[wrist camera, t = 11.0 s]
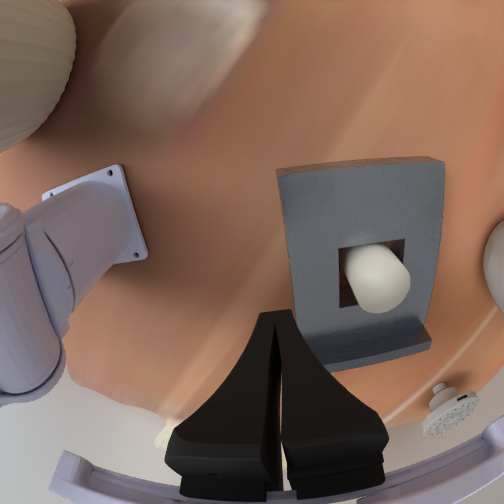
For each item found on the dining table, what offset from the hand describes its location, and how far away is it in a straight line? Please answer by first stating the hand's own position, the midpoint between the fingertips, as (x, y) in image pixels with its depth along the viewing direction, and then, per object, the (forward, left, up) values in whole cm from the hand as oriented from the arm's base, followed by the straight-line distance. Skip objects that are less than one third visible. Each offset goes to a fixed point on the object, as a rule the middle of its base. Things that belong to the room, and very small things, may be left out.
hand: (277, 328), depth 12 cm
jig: (+7, -3, -10) cm, 12 cm away
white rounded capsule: (+7, -3, -10) cm, 12 cm away
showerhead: (+22, -28, -10) cm, 37 cm away
